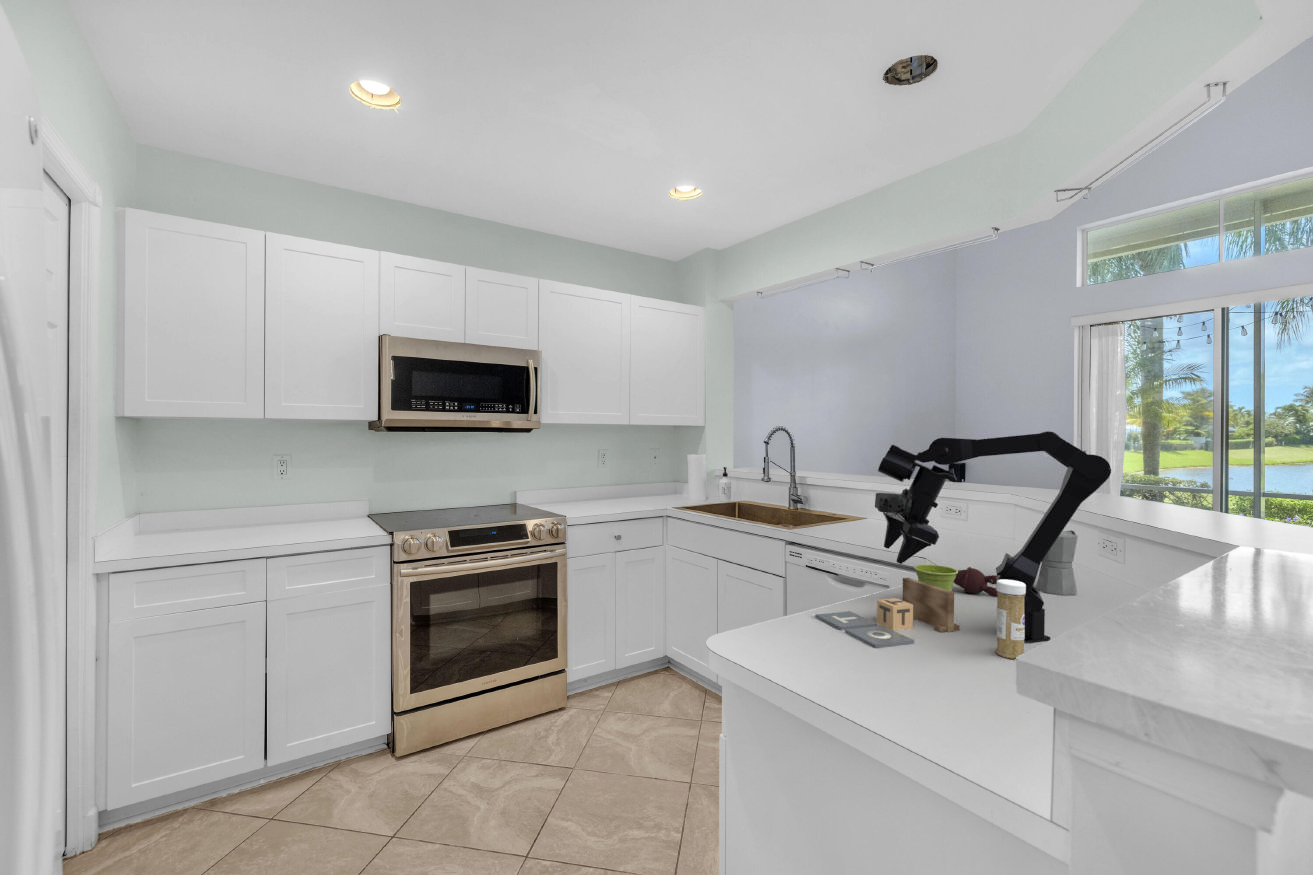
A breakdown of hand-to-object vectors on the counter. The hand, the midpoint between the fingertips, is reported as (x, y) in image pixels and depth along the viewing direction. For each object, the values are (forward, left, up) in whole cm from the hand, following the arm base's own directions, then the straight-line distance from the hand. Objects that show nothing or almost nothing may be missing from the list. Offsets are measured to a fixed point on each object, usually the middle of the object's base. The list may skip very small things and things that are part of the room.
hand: (892, 555), depth 128 cm
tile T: (0, +12, -14) cm, 18 cm away
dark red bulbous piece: (+12, -35, -14) cm, 39 cm away
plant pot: (+5, -17, -14) cm, 22 cm away
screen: (-5, -5, -14) cm, 15 cm away
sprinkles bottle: (-25, -5, -14) cm, 29 cm away
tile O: (-11, +12, -14) cm, 21 cm away
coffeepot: (+7, -60, -14) cm, 62 cm away
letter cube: (-5, +4, -14) cm, 15 cm away
